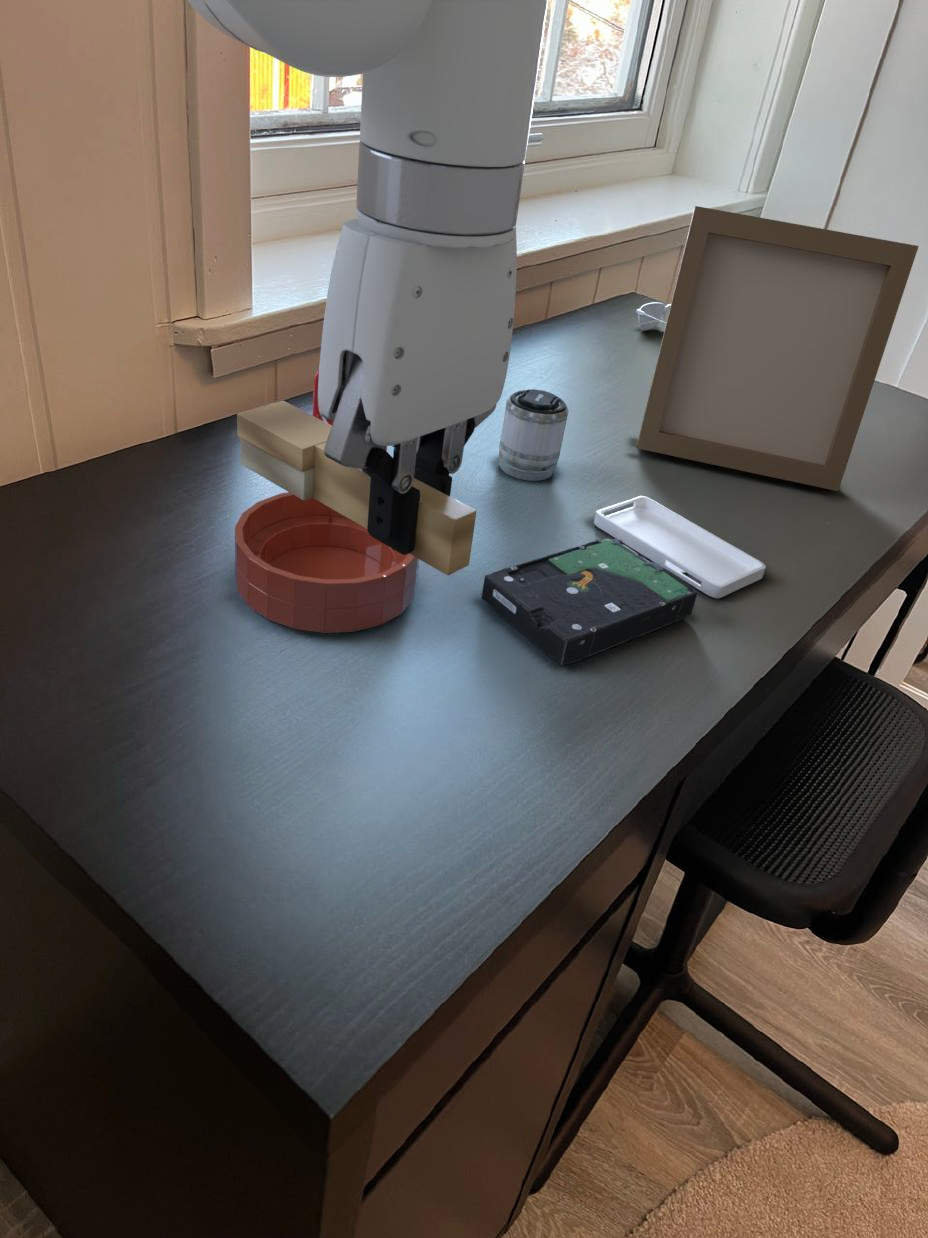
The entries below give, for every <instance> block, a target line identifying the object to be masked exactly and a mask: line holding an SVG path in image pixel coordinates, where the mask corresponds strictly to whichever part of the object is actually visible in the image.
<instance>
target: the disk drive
mask: <svg viewBox="0 0 928 1238" xmlns="http://www.w3.org/2000/svg"><path fill="white" fill-rule="evenodd" d="M622 543H623V542H622V540H619V539H618V538H613V539H611V538H610V537H609V538H604V539H602V540H598V539H597V540H594V541H589V542H587V543H585V544H582V545H578V546H575V547H571V548H567V549H565V550H562V551H558V552H555V553H552V554H551V553H550V554H548V555H546V556H542V557H539V558H535V559H531V560H529V561H526V562H522V563H518V564H515V565H513V566H509V567H504V568H502V569H499V570H496V571H493V572H491V573H488V574H485V575H484V580H483V585H482V593H481V600H483V601H484V602H485V603H486V604H487V605H488V606H489V607H491V609H492V610H493V611H494V612H495V613H497V614H498V615H499V616H500V617H502V618H503V619H504V620H505V621H506V622H508V623H509V624H510V625H511V626H512V627H513V628H515V629H516V630H517V631H518V632H519V633H521V634H522V635H523V636H524V637H525V638H527V639H528V640H529V641H530V642H532V643H533V644H534V645H535V646H536V647H538V648H539V650H541V651H542V652H543V653H544V654H546V655H547V656H548V657H549V658H552V659H553V660H554V661H555V662H557V663H558V664H559V665H561V666H565V665H566V664H567V665H568V664H573V663H575V662H578V661H581V660H583V659H585V658H588V657H591V656H593V655H596V654H598V653H600V652H603V651H606V650H608V649H610V648H613V647H615V646H618V645H621V644H623V643H626V642H628V641H630V640H631V639H635V638H636V637H641V636H644V635H646V634H648V633H651V632H653V631H656V630H658V629H660V628H663V627H666V626H669V625H671V624H675V623H676V622H678V621H681V620H682V619H685V618H686V617H689V616H692V613H693V609H694V607H695V604H696V600H697V596H698V595H699V594H698V592H699V590H698V591H697V590H696V588H693V586H691V585H690V584H689V583H687V582H685V581H684V580H682V579H681V578H679V577H678V576H676V575H674V574H673V573H671V572H670V571H668V570H666V569H665V568H663V567H662V566H660V565H658V564H657V563H655V562H653V561H650V560H648V559H646V557H645V556H644V555H641V553H638V552H637V551H635V550H634V549H632V548H631V547H629V546H628V545H626V544H622Z"/></svg>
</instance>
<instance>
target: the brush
mask: <svg viewBox="0 0 928 1238" xmlns="http://www.w3.org/2000/svg"><path fill="white" fill-rule="evenodd" d="M331 427H332V426H331V425H329V424H328V423H326V422H324V421H322V420H320V419H318V418H316V417H314V416H312V414H310V413H308V412H307V411H304V410H302V409H300V408H298V407H296V406H295V405H293V404H291V403H289V402H286V401H285V400H280V401H276V402H271V403H269V404H268V403H267V404H265V405H262V406H257V407H254V408H250V409H247V410H244V411H241V412H237V413H236V428H237V429H236V433H237V434H236V436H237V437H238V438H239V439H240V441H239V442H240V465H242V466H243V467H245V468H247V469H249V471H250V470H251V471H252V472H254V474H256V475H259V476H260V477H262V478H264V479H266V480H268V481H269V482H270V483H272V484H274V485H276V486H277V487H279V488H281V489H283V490H284V491H286V492H290V493H291V494H293V495H295V496H296V497H298V498H300V499H302V500H303V501H305V500H308V499H310V498H314V499H316V500H317V501H319V502H321V503H323V504H324V505H326V506H328V507H330V508H331V509H333V510H335V511H337V512H338V513H340V514H342V515H343V516H345V517H347V518H349V519H350V520H352V521H354V522H356V523H357V524H359V525H361V526H363V527H364V528H366V529H367V525H368V511H369V496H370V482H371V477H369V476H367V475H365V474H364V473H363V471H362V469H358V468H351V467H344V466H342V465H340V464H339V463H337V462H335V461H333V460H331V459H329V458H328V457H326V456H325V454H324V449H325V445H326V442H327V439H328V436H329V433H330V430H331ZM412 486H413V487H415V488H416V489H418V490H420V501H419V506H418V516H417V525H416V535H415V545H414V550H413V551H412V552H410V553H409V554H411V555H413V556H415V557H416V558H418V559H419V561H422V562H423V563H425V564H427V565H428V566H430V567H432V568H434V569H436V570H437V571H439V572H440V573H442V574H444V575H446V576H451V575H453V574H454V573H456V572H458V571H460V570H462V569H465V568H466V567H468V566H469V565H470V561H471V554H472V548H473V547H472V546H473V539H474V532H475V526H476V519H477V510H476V509H474V508H472V507H470V506H469V505H467V504H465V503H463V502H461V501H460V500H458V499H455V498H454V497H451V495H450V496H448V495H446V494H444V493H442V492H440V491H438V490H436V489H434V488H432V487H430V486H428V485H427V484H425V483H423V482H421V481H419V480H417V479H415V478H414V482H413V485H412Z"/></svg>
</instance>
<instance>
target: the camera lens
mask: <svg viewBox="0 0 928 1238" xmlns="http://www.w3.org/2000/svg"><path fill="white" fill-rule="evenodd" d="M568 416H569V408H568V405H567V403H566V402H565V401H564V399H562V398H560V397H559V396H557V395H556V394H555V393H552V392H550V391H546V390H543V389H535V388H533V389H532V388H531V389H530V388H529V389H522V390H517V391H516V392H514V393H512V394H510V395H509V396H508V398H507V399H506V402H505V409H504V416H503V421H502V428H501V434H500V441H499V446H498V462H497V463H498V464H499V468H500V470H501V471H502V472H503V473H505V474H507V475H508V476H510V477H513V478H515V479H518V480H522V481H528V482H538V481H539V482H540V481H544V480H547V479H549V478H551V477H552V475H553V474H554V471H555V469H556V468H557V465H558V462H559V459H560V455H561V449H562V446H563V440H564V436H565V429H566V426H567V421H568Z"/></svg>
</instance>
